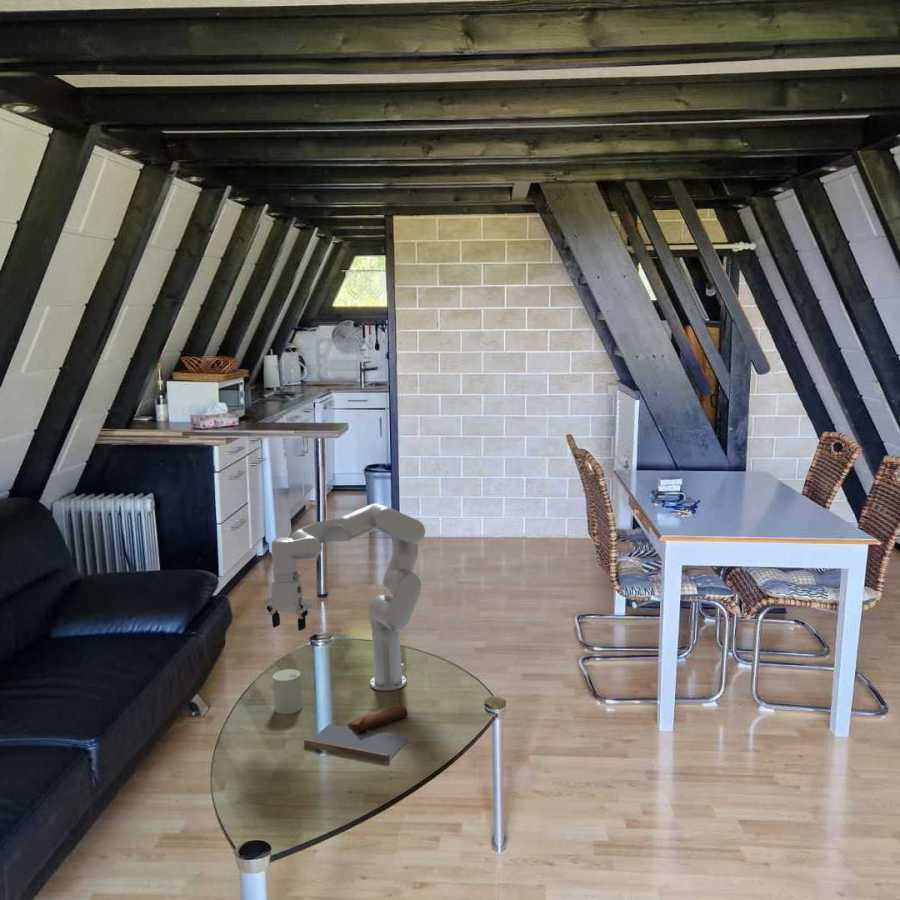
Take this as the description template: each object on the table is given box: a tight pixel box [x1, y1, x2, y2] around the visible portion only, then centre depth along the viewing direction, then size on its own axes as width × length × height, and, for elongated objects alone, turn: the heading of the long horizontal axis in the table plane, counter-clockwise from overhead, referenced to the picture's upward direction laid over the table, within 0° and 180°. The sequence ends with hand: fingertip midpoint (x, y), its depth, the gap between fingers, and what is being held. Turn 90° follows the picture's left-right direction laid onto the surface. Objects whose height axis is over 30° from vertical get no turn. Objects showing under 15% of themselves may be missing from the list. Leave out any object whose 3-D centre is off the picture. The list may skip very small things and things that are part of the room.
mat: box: [312, 723, 410, 760], centre depth 248 cm, size 13×28×1 cm, turn 67°
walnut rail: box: [303, 737, 391, 763], centre depth 242 cm, size 1×28×2 cm, turn 67°
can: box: [272, 668, 304, 715], centre depth 272 cm, size 9×9×12 cm
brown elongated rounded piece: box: [347, 705, 409, 735], centre depth 259 cm, size 18×7×7 cm, turn 129°
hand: (289, 627), depth 266 cm, fingers open, 9 cm apart
